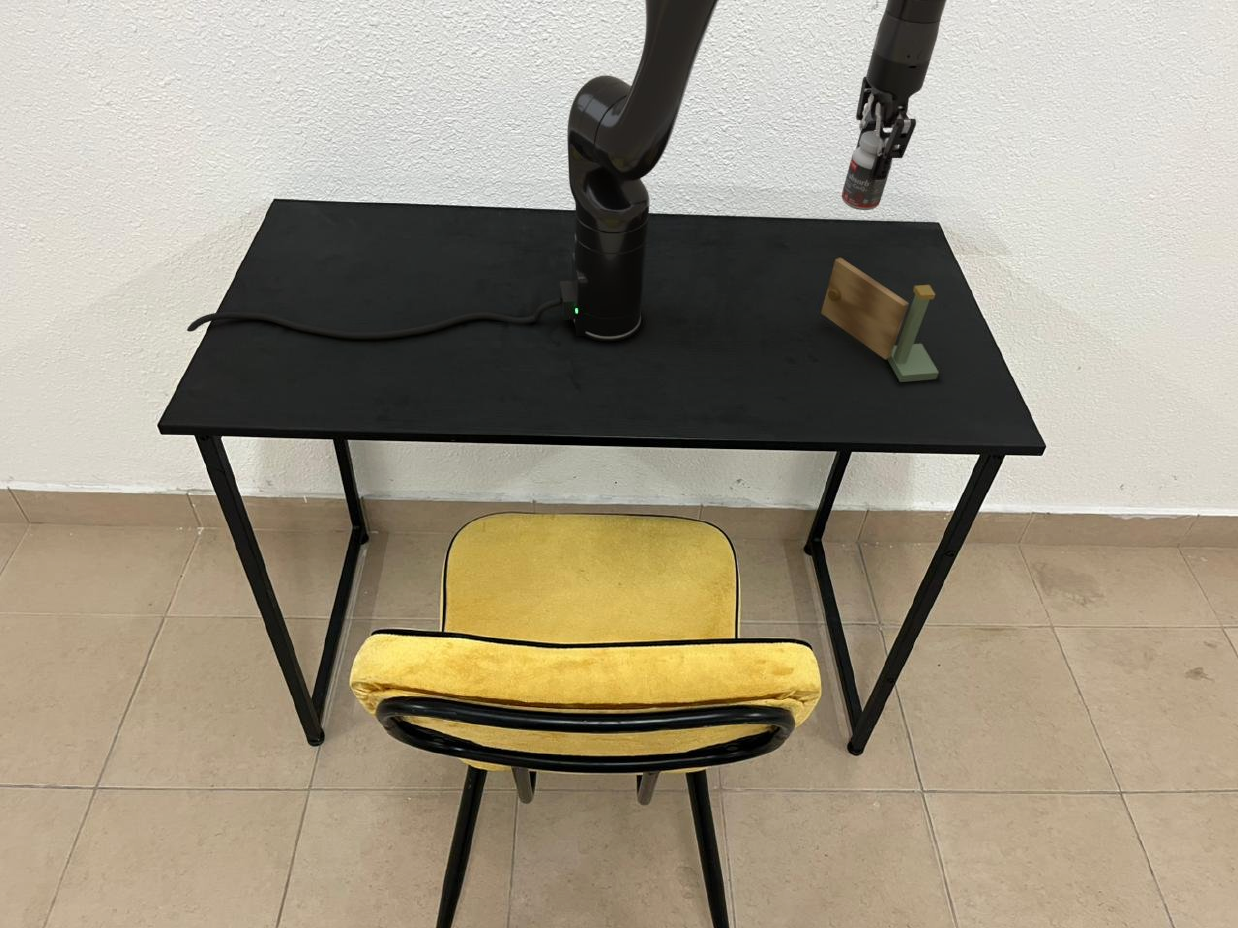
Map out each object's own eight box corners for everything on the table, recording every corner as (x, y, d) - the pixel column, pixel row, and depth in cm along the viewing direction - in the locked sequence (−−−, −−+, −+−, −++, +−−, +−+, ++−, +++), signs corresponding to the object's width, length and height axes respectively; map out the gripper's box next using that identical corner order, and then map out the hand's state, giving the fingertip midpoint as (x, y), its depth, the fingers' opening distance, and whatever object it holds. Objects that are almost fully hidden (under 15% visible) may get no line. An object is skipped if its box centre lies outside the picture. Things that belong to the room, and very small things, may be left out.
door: (816, 315, 128) (830, 261, 121) (825, 310, 129) (840, 257, 122) (881, 362, 122) (899, 308, 115) (890, 357, 123) (909, 303, 116)
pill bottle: (832, 198, 135) (849, 135, 128) (857, 187, 138) (874, 124, 131) (862, 216, 132) (880, 152, 125) (887, 204, 135) (906, 141, 128)
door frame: (898, 382, 121) (927, 305, 112) (882, 353, 125) (908, 276, 116) (936, 379, 122) (967, 302, 113) (919, 350, 126) (948, 273, 117)
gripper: (857, 26, 123) (829, 143, 135) (896, 74, 113) (862, 195, 126) (909, 25, 124) (876, 142, 137) (952, 72, 115) (913, 193, 127)
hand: (869, 167), depth 131 cm, fingers closed on pill bottle, 5 cm apart
